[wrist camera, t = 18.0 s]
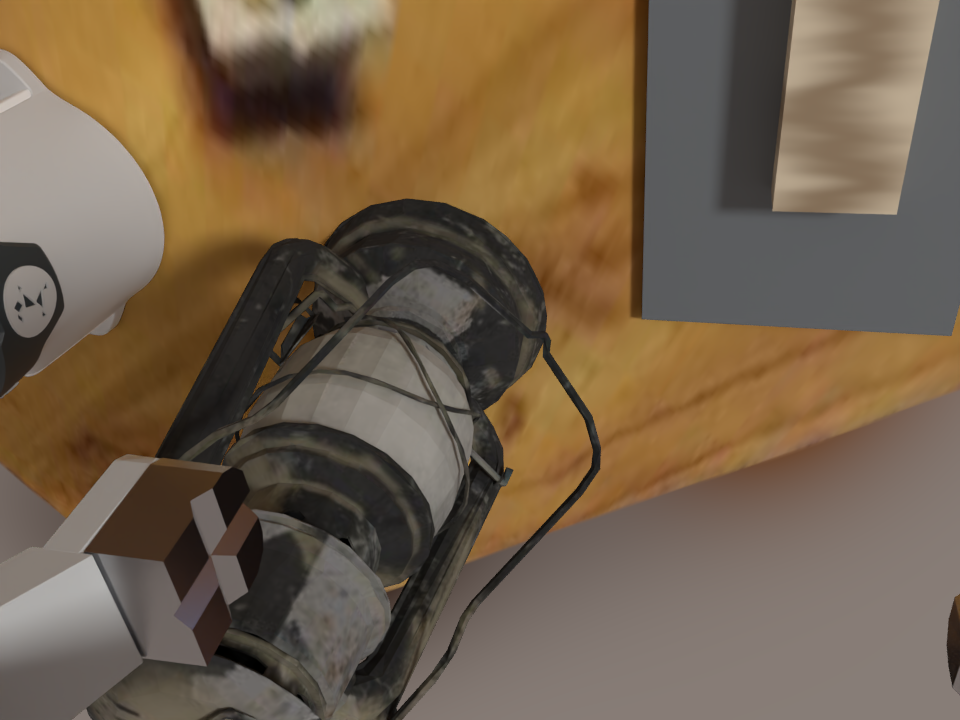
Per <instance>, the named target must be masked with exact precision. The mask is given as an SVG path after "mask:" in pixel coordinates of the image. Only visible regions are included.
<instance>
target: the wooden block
mask: <svg viewBox="0 0 960 720" xmlns="http://www.w3.org/2000/svg"><path fill="white" fill-rule="evenodd" d="M939 1H940V0H792V5H791V14H790V24H789V33H788V42H787V51H786V60H785V69H784V78H783V87H782V96H781V105H780V114H779V123H778V132H777V141H776V150H775V159H774V168H773V178H772V187H771V195H772V211H782V212H819V213H855V214H892V215H897V210H898V205H899V200H900V195H901V190H902V185H903V180H904V175H905V170H906V165H907V160H908V155H909V150H910V145H911V140H912V136H913V131H914V126H915V121H916V116H917V111H918V106H919V101H920V96H921V91H922V86H923V81H924V76H925V71H926V66H927V61H928V56H929V51H930V46H931V41H932V36H933V31H934V26H935V21H936V16H937V11H938V6H939Z"/></svg>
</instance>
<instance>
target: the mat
mask: <svg viewBox="0 0 960 720" xmlns="http://www.w3.org/2000/svg"><path fill="white" fill-rule="evenodd" d="M791 5H792V0H649V24H648V69H647V113H646V158H645V203H644V248H643V293H642V319H649V320H667V321H685V322H704V323H722V324H740V325H759V326H777V327H796V328H814V329H832V330H851V331H869V332H887V333H906V334H924V335H943V336H951V335H952V332H953V328H954V324H955V320H956V316H957V312H958V308H959V305H960V0H940V1H939V6H938V11H937V16H936V21H935V26H934V31H933V36H932V41H931V46H930V51H929V56H928V61H927V66H926V71H925V76H924V81H923V86H922V91H921V96H920V101H919V106H918V111H917V116H916V121H915V126H914V131H913V136H912V140H911V145H910V150H909V155H908V160H907V165H906V170H905V175H904V180H903V185H902V190H901V195H900V200H899V205H898V210H897V215H892V214H855V213H819V212H782V211H772V195H771V187H772V178H773V168H774V159H775V150H776V141H777V132H778V123H779V114H780V105H781V96H782V87H783V78H784V69H785V60H786V51H787V42H788V33H789V24H790V14H791Z"/></svg>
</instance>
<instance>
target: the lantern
mask: <svg viewBox="0 0 960 720" xmlns="http://www.w3.org/2000/svg"><path fill="white" fill-rule="evenodd" d="M304 281H314V282H315V287H314V291H313V292H312V293H311V294H310V295H309V296H308V297H307V298H305V299H304V300H303V301H301V300H300V299H299V298H297V295H298V293H299V291H300V288H301V286H302V284H303V282H304ZM294 303H298V304H299V305H297V306H296V307H295V308H294V309H293V310H292V311H291V312H290V310H291V308H292V306H293V304H294ZM311 304H313V306H312V311H311V310H310V309H309V308H308V307H309V306H310V305H311ZM305 310H306V311H307V313H308V314H309V315H310V317H308V318H305V317H304V316H302V315H301V313H303V312H304V311H305ZM289 312H290V313H289ZM295 319H296V320H295ZM294 320H295V322H294V324H293V325H292V327H291V329H290V331H289V332H288V334H287V336H286V338H285V340H284V341H283V343H282V345H281V358H280V357H279V356H278V355H277V354H276V353H275V352H274V351H273V348H274V345H275V343H276V341H277V339H278V337H279V334H280V332H282V331H283V330H284V329H285V328H286V327H287V326H288V325H289V324H290V323H291V322H293V321H294ZM546 321H547V313H546V306H545V300H544V294H543V290H542V288H541V286H540V284H539V282H538V279H537V277H536V275H535V273H534V271H533V270H532V268H531V266H530V264H529V262H528V260H527V258H526V257H525V256H524V255H523V254H522V253H521V252H520V251H519V250H518V248H517V247H516V246H515V245H514V244H513V243H512V242H511V241H510V240H509V239H508V237H507V236H505V235H504V234H503V233H501V232H500V231H499V230H497V229H496V228H495V227H493V226H492V225H491V224H489V223H488V222H487V221H485V220H484V219H482V218H479V217H477V216H475V215H472V214H470V213H467V212H465V211H463V210H460V209H458V208H456V207H453V206H451V205H448V204H446V203H440V202H432V201H423V200H415V199H402V200H397V201H392V202H386V203H381V204H375V205H371V206H369V207H367V208H366V209H364V210H362V211H361V212H359V213H357V214H355V215H354V216H352V217H350V218H349V219H347V220H345V221H343V222H342V223H341V224H340V226H339V227H338V228H337V229H336V231H335V232H334V233H333V234H332V235H331V237H330V238H329V239H328V240H327V242H326V244H325V245H324V246H323V245H321V244H318V243H316V242H313V241H310V240H306V239H298V238H291V239H285V240H282V241H280V242H277V243H275V244H273V245H272V246H271V247H270V249H269V250H268V251H267V253H266V254H265V255H264V257H263V258H262V259H261V261H260V262H259V264H258V266H257V268H256V270H255V271H254V273H253V275H252V277H251V279H250V281H249V283H248V284H247V286H246V288H245V290H244V292H243V294H242V296H241V297H240V299H239V301H238V303H237V305H236V307H235V309H234V310H233V312H232V314H231V316H230V318H229V320H228V322H227V323H226V325H225V327H224V329H223V331H222V333H221V335H220V337H219V338H218V340H217V342H216V344H215V346H214V348H213V350H212V351H211V353H210V355H209V357H208V359H207V361H206V363H205V364H204V366H203V368H202V370H201V372H200V374H199V376H198V377H197V379H196V381H195V383H194V385H193V387H192V389H191V390H190V392H189V394H188V396H187V398H186V400H185V402H184V403H183V405H182V407H181V409H180V411H179V413H178V415H177V416H176V418H175V420H174V422H173V424H172V426H171V428H170V429H169V431H168V433H167V435H166V437H165V439H164V441H163V443H162V444H161V446H160V448H159V450H158V452H157V454H156V456H155V457H154V458H167V459H175V460H183V461H191V462H198V463H206V464H214V465H220V464H221V462H222V460H223V457H224V460H223V464H222V466H229V467H234V468H237V469H240V470H242V471H243V473H244V476H245V478H246V481H247V484H248V486H249V489H250V492H249V493H248V495H247V497H246V498H245V500H244V502H243V503H244V504H245V505H246V506H247V507H248V508H249V509H250V510H252V511H253V512H254V513H255V514H256V515H257V516H258V517H259V521H260V524H261V527H262V531H263V548H264V550H263V554H262V558H261V563H260V567H259V572H258V574H257V576H256V578H255V580H254V582H253V584H252V586H251V588H250V589H249V591H248V592H247V593H246V594H244V595H243V596H241V597H240V598H238V599H237V600H235V601H234V602H232V603H231V604H229V609H230V613H231V618H232V623H231V624H230V626H229V628H228V630H227V632H226V633H225V635H224V637H223V639H222V641H221V642H220V644H219V646H218V648H217V650H216V651H215V653H214V655H213V657H212V659H211V660H210V662H209V664H208V666H199V665H191V664H184V663H176V662H168V661H160V660H153V659H145V658H142V659H143V663H142V664H140V665H139V666H138V667H137V668H135V669H134V670H133V671H132V672H130V673H129V674H128V675H127V676H126V677H124V678H123V679H122V680H121V681H119V682H118V683H117V684H116V685H114V686H113V687H112V688H111V689H109V690H108V691H107V692H106V693H104V694H103V695H102V696H101V697H99V698H98V699H97V700H96V701H94V702H93V703H92V704H91V705H89V706H88V707H87V708H86V709H87V711H88V714H89V716H90V717H91V718H92V720H402V719H403V718H404V717H405V716H406V714H407V713H408V712H409V711H410V710H411V709H412V708H413V707H414V706H415V705H416V704H417V702H418V701H419V700H420V699H421V698H422V697H423V696H424V695H425V693H426V692H427V691H428V690H429V689H430V688H431V687H432V686H433V685H434V684H435V682H436V681H437V680H438V678H439V677H440V675H441V674H442V672H443V671H444V669H445V668H446V666H447V665H448V663H449V662H450V660H451V659H452V657H453V656H454V654H455V652H456V650H457V648H458V645H459V643H460V640H461V638H462V635H463V633H464V630H465V628H466V626H467V623H468V621H469V619H470V618H471V617H472V615H473V614H474V612H475V610H476V609H477V608H478V606H479V605H480V604H481V602H483V600H484V599H485V598H486V597H487V596H488V595H489V594H490V593H491V592H492V591H493V590H494V589H495V588H496V586H498V584H499V583H500V582H501V581H502V580H503V579H504V578H505V577H506V576H507V575H508V574H509V573H510V571H511V570H512V569H513V568H514V567H515V566H516V565H517V564H518V563H519V562H520V561H521V560H522V559H523V557H525V555H527V553H528V552H529V551H530V550H531V549H532V548H533V547H534V546H535V545H536V544H537V543H538V542H539V541H540V540H541V538H542V537H543V536H544V535H545V534H546V533H547V532H548V531H549V530H550V529H551V528H552V527H553V526H554V525H555V523H556V522H557V521H558V520H559V519H560V518H561V517H562V516H563V515H564V514H565V513H566V512H567V511H568V510H569V509H570V507H571V506H572V505H573V504H574V503H575V502H576V501H577V500H578V499H579V498H580V497H581V496H582V495H583V493H584V492H585V490H586V489H587V487H588V486H589V484H590V483H591V481H592V480H593V479H594V477H595V476H596V474H597V473H598V471H599V470H600V456H601V446H600V443H599V439H598V435H597V432H596V428H595V424H594V420H593V417H592V415H591V413H590V412H589V410H588V409H587V407H586V406H585V404H584V403H583V401H582V400H581V398H580V397H579V395H578V394H577V392H576V391H575V389H574V388H573V386H572V385H571V383H570V382H569V380H568V379H567V377H566V376H565V375H564V373H563V372H562V370H561V369H560V367H559V366H558V364H557V363H556V361H555V360H554V358H553V357H552V355H551V354H550V345H551V340H550V338H549V336H548V334H547V332H546ZM312 326H313V330H314V336H315V339H313V340H311V341H309V342H307V343H305V344H303V345H301V346H300V347H299V348H298V349H297V350H296V351H295V352H294V353H293V354H292V355H291V356H290V357H289V355H290V354H291V353H292V351H293V350H294V349H295V347H296V346H297V345H298V343H299V342H300V341H301V340H302V338H303V337H304V336H305V335H306V333H307V332H308V331H309V330H310V328H311V327H312ZM542 344H543V358H544V359H545V361H546V362H547V364H548V365H549V367H550V368H551V370H552V371H553V373H554V374H555V376H556V377H557V379H558V380H559V382H560V383H561V385H562V386H563V388H564V389H565V391H566V392H567V394H568V395H569V397H570V398H571V400H572V401H573V403H574V404H575V406H576V407H577V409H578V410H579V412H580V413H581V415H582V416H583V418H584V420H585V423H586V427H587V430H588V434H589V437H590V441H591V444H592V448H593V457H592V465H591V468H590V470H589V471H588V473H587V474H586V476H585V477H584V478H583V480H582V481H581V483H580V484H579V486H578V487H577V488H576V490H575V491H574V492H573V493H572V494H571V495H570V496H569V497H568V498H567V499H566V500H565V501H564V502H563V504H562V505H561V506H560V507H559V508H558V509H557V510H556V511H555V512H554V513H553V514H552V515H551V516H550V517H549V519H548V520H547V521H546V522H545V523H544V524H543V525H542V526H541V527H540V528H539V529H538V530H537V531H536V532H535V533H534V535H533V536H532V537H531V538H530V539H529V540H528V541H527V542H526V543H525V544H524V545H523V546H522V547H521V549H520V550H519V551H518V552H517V553H516V554H515V555H514V556H513V557H512V558H511V559H510V560H509V561H508V562H507V563H506V565H505V566H504V567H503V568H502V569H501V570H500V571H499V572H498V573H497V574H496V575H495V577H493V578H492V579H491V580H490V582H489V583H488V584H487V585H486V586H485V587H484V588H483V589H482V590H481V591H480V592H479V593H478V594H477V595H476V597H475V598H474V599H473V600H472V601H471V602H470V604H469V605H468V607H467V608H466V610H465V611H464V613H463V614H462V616H461V617H460V620H459V622H458V625H457V627H456V630H455V632H454V635H453V637H452V640H451V642H450V645H449V647H448V650H447V651H446V653H445V654H444V656H443V657H442V659H441V660H440V661H439V663H438V664H437V666H436V667H435V669H434V670H433V672H432V673H431V674H430V675H429V677H428V678H427V679H426V680H425V681H424V682H423V683H422V684H421V685H420V687H419V688H418V689H417V690H416V691H415V692H414V693H413V694H412V695H411V697H410V698H409V699H408V700H407V701H406V702H405V703H404V704H403V705H402V706H401V708H400V709H399V710H398V711H397V709H396V707H397V705H398V703H399V701H400V699H401V697H402V695H403V693H404V691H405V688H406V686H407V684H408V682H409V680H410V678H411V676H412V674H413V672H414V669H415V667H416V665H417V663H418V661H419V659H420V657H421V655H422V652H423V650H424V648H425V646H426V644H427V641H428V640H429V638H430V636H431V633H432V631H433V629H434V627H435V625H436V623H437V621H438V619H439V616H440V614H441V612H442V610H443V608H444V606H445V604H446V602H447V600H448V597H449V595H450V593H451V591H452V589H453V587H454V585H455V583H456V581H457V579H458V576H459V574H460V572H461V570H462V568H463V566H464V564H465V562H466V560H467V557H468V555H469V553H470V551H471V549H472V547H473V545H474V543H475V541H476V538H477V536H478V534H479V532H480V530H481V528H482V526H483V524H484V522H485V519H486V517H487V515H488V513H489V511H490V509H491V507H492V505H493V503H494V500H495V498H496V496H497V494H498V492H499V490H500V488H501V487H502V486H506V485H507V483H508V481H509V479H510V476H511V474H512V472H513V470H512V469H510V468H507V467H506V470H505V472H504V463H503V447H502V445H501V443H500V441H499V438H498V436H497V434H496V432H495V429H494V427H493V425H492V424H491V422H490V421H489V419H488V417H487V416H486V414H485V413H484V411H483V410H485V409H486V408H488V407H489V406H491V405H492V404H494V403H495V402H497V401H498V400H499V399H500V397H501V396H502V395H503V393H504V392H505V390H506V389H507V388H509V387H510V386H512V385H513V384H514V383H515V382H516V381H517V380H518V379H519V378H520V377H521V376H522V375H523V374H525V373H526V372H527V371H528V370H529V369H530V368H531V367H532V365H533V363H534V361H535V359H536V357H537V355H538V353H539V351H540V348H541V346H542ZM269 357H270V358H271V359H272V360H273V361H274V362H276V363H277V364H278V365H279V366H280V369H279V370H278V372H277V373H276V375H275V376H274V378H273V379H272V380H271V382H270V383H268V384H266V385H264V386H261V387H259V388H258V389H257V390H256V392H255V393H254V394H253V392H254V389H255V387H256V385H257V383H258V381H259V378H260V376H261V374H262V372H263V370H264V367H265V365H266V363H267V361H268V359H269ZM288 357H289V358H288ZM287 358H288V359H287ZM286 359H287V360H286ZM282 364H283V365H282ZM263 391H264V392H263ZM262 392H263V394H262V395H261V396H260V398H259V399H258V401H257V402H256V404H255V405H254V407H253V408H252V409H251V411H250V412H249V414H248V417H247V418H245V419H242V418H243V414H244V413H245V412H246V411H247V410H248V408H249V407H250V406H251V405H252V404H253V402H254V401H255V400H256V399H257V398H258V397H259V395H260V394H261V393H262ZM252 394H253V395H252ZM251 396H252V397H251ZM243 428H244V429H243ZM241 429H243V432H242V435H241V438H240V436H239V431H240V430H241ZM234 433H235V438H236V443H234V444H233V445H232V447H231V448H230V450H229V451H228V452H227V454H226V455H225V453H226V451H227V449H228V446H229V444H230V442H231V440H232V438H233V435H234ZM224 455H225V456H224ZM469 458H471V462H470V464H469V466H468V461H469ZM407 578H409V579H408V581H407V583H406V584H405V586H404V588H403V590H402V592H401V594H400V596H399V598H398V599H397V601H396V603H395V605H394V607H393V609H392V611H391V610H390V601H389V599H388V596H387V594H386V591H385V589H384V587H388V586H392V585H395V584H399V583H401V582H403V581H404V580H406V579H407ZM365 657H367V658H366V660H364V661H363V662H361V663H360V664H359V662H360V660H362V659H364V658H365Z"/></svg>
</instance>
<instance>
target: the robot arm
mask: <svg viewBox="0 0 960 720" xmlns="http://www.w3.org/2000/svg"><path fill="white" fill-rule="evenodd" d="M163 250H164V228H163V221H162V216H161V212H160V209H159V206H158V203H157V200H156V197H155V195H154V193H153V190H152V188H151V186H150V184H149V182H148V180H147V179H146V177H145V175H144V173H143V172H142V170H141V169H140V167H139V166H138V164H137V163H136V161H135V160H134V159H133V157H132V156H131V155H130V154H129V152H128V151H127V150H126V149H125V148H124V147H123V145H122V144H121V143H120V142H119V141H118V140H117V139H116V138H115V137H114V136H113V135H112V134H111V133H110V132H109V131H108V130H106V129H105V128H104V127H103V126H102V125H100V124H99V123H98V122H97V121H95V120H94V119H93V118H91V117H90V116H89V115H87V114H86V113H84V112H83V111H81V110H79V109H78V108H76V107H74V106H73V105H71V104H69V103H68V102H66V101H64V100H63V99H61V98H59V97H58V96H56V95H55V94H54V93H52V92H51V91H50V90H48V89H47V88H46V87H45V85H44V84H43V83H42V82H41V81H40V80H39V79H38V78H37V77H36V76H35V75H34V73H33V72H32V71H31V70H30V69H29V68H28V67H27V66H26V65H25V64H24V63H23V62H22V61H20V60H19V59H18V58H17V57H16V56H14V55H13V54H11V53H10V52H8V51H6V50H2V49H0V398H3V397H4V395H6V394H8V393H9V392H10V391H11V390H13V389H14V388H15V387H16V386H17V385H18V384H19V382H18V381H19V380H20V379H21V378H22V377H23V376H26V377H29V376H33V375H36V374H38V373H39V372H41V371H42V370H43V369H45V368H46V367H47V366H49V365H50V364H51V363H53V362H54V361H55V360H56V359H58V358H59V357H60V356H61V355H63V354H64V353H65V352H67V351H68V350H69V349H70V348H72V347H73V346H74V345H75V344H77V343H78V342H79V341H81V340H82V339H83V338H84V337H86V336H87V335H88V334H93V335H105V334H107V333H108V332H109V331H110V330H112V329H113V328H114V327H116V326H117V324H118V323H119V321H120V319H121V316H122V313H123V310H124V307H125V304H126V302H127V301H128V300H129V299H130V298H131V297H132V296H133V295H135V294H136V293H137V292H139V291H140V290H141V289H143V288H144V287H145V286H146V285H147V284H148V283H149V282H150V281H151V279H152V278H153V277H154V275H155V274H156V272H157V270H158V268H159V265H160V263H161V259H162V255H163ZM249 492H250V489H249V486H248V484H247V481H246V478H245V476H244V473H243V471H242V470H240V469H237V468H234V467H229V466H222V465H214V464H206V463H198V462H191V461H183V460H175V459H167V458H154V457H146V456H138V455H131V454H126V455H124V456H122V457H120V458H118V459H116V460H114V461H113V463H112V464H111V465H110V466H109V467H108V469H107V470H106V471H105V472H104V474H103V475H102V476H101V477H100V478H99V480H98V481H97V482H96V483H95V485H94V486H93V487H92V488H91V489H90V491H89V492H88V493H87V494H86V496H85V497H84V498H83V499H82V500H81V502H80V503H79V504H78V505H77V507H76V508H75V509H74V510H73V511H72V513H71V514H70V515H69V516H68V517H67V519H66V520H65V521H64V523H63V524H62V525H61V526H60V527H59V528H58V530H57V531H56V532H55V533H54V535H53V536H52V537H51V538H50V539H49V541H48V542H47V543H46V544H45V546H44V547H43V548H38V547H30V548H28V549H27V550H25V551H23V552H21V553H19V554H18V555H16V556H14V557H12V558H10V559H8V560H6V561H4V562H3V563H1V564H0V720H72V719H73V718H75V717H76V716H77V715H78V714H79V713H80V712H82V711H83V710H84V709H86V708H87V707H88V706H89V705H91V704H92V703H93V702H94V701H96V700H97V699H98V698H99V697H101V696H102V695H103V694H104V693H106V692H107V691H108V690H109V689H111V688H112V687H113V686H114V685H116V684H117V683H118V682H119V681H121V680H122V679H123V678H124V677H126V676H127V675H128V674H129V673H130V672H132V671H133V670H134V669H135V668H137V667H138V666H139V665H140V664H142V663H143V659H142V658H145V659H153V660H160V661H168V662H176V663H184V664H191V665H199V666H208V664H209V662H210V660H211V659H212V657H213V655H214V653H215V651H216V650H217V648H218V646H219V644H220V642H221V641H222V639H223V637H224V635H225V633H226V632H227V630H228V628H229V626H230V624H231V623H232V618H231V613H230V609H229V604H231V603H232V602H234V601H235V600H237V599H238V598H240V597H241V596H243V595H244V594H246V593H247V592H248V591H249V589H250V588H251V586H252V584H253V582H254V580H255V578H256V576H257V574H258V572H259V567H260V563H261V558H262V554H263V550H264V548H263V531H262V527H261V524H260V521H259V517H258V516H257V515H256V514H255V513H254V512H253V511H252V510H250V509H249V508H248V507H247V506H246V505H245V504H244V503H243V502H244V500H245V498H246V497H247V495H248V493H249ZM947 655H948V667H949V672H950V677H951V682H952V688H953V689H954V690H955V691H956V692H957V693H958V694H959V695H960V594H959V595H958V596H956V597H955V598H954V602H953V605H952V609H951V613H950V616H949V621H948V634H947Z"/></svg>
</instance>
